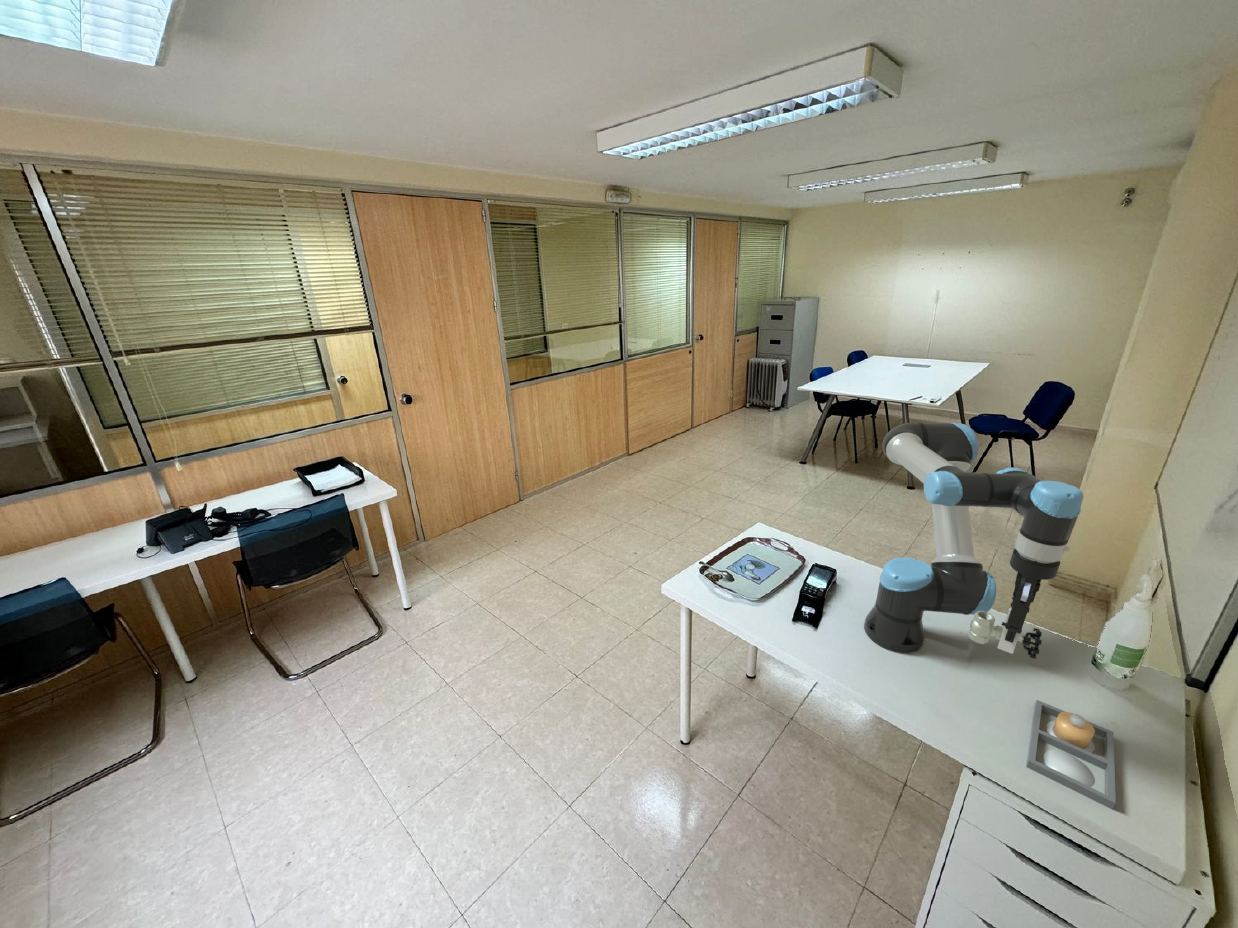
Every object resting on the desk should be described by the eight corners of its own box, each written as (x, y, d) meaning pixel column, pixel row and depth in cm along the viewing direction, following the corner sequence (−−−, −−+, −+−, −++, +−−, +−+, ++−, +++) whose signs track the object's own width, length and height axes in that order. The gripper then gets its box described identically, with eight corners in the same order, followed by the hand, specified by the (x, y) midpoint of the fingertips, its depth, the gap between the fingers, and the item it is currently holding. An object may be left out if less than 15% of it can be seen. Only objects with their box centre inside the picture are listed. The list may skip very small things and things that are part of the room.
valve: (966, 643, 109) (1034, 665, 102) (973, 620, 107) (1043, 641, 100) (967, 626, 114) (1031, 646, 107) (973, 604, 111) (1040, 623, 105)
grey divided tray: (1025, 769, 100) (1028, 760, 100) (1033, 707, 114) (1036, 699, 113) (1110, 811, 92) (1115, 803, 91) (1109, 739, 106) (1113, 731, 105)
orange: (1051, 737, 106) (1059, 719, 104) (1053, 719, 110) (1060, 701, 108) (1088, 754, 102) (1097, 736, 100) (1088, 735, 106) (1097, 717, 104)
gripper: (1058, 582, 90) (1023, 675, 99) (1063, 541, 102) (1032, 626, 111) (1008, 568, 95) (979, 657, 103) (1019, 530, 107) (993, 613, 116)
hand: (1007, 641), depth 107 cm, fingers closed on valve, 6 cm apart
